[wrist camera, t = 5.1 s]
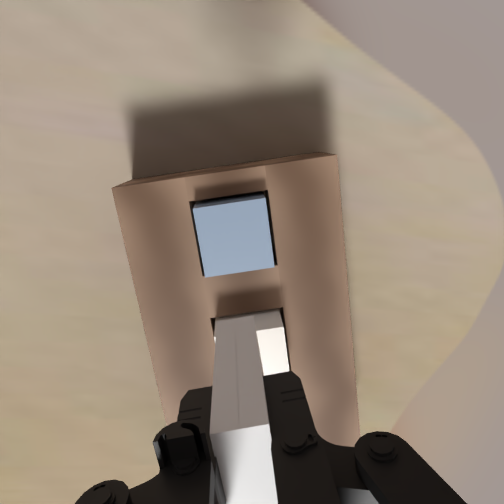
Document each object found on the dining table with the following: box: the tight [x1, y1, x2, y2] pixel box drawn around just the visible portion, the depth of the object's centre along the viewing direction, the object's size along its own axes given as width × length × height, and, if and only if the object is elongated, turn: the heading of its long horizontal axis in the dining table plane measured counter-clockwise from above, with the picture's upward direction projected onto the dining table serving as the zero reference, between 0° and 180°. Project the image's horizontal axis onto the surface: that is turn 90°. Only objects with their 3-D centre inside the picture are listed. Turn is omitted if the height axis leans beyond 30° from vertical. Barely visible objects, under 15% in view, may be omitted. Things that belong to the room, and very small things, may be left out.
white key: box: [214, 308, 289, 376], centre depth 28 cm, size 4×4×3 cm
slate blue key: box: [193, 192, 275, 278], centre depth 27 cm, size 4×4×3 cm
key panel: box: [112, 152, 360, 447], centre depth 31 cm, size 14×24×6 cm, turn 8°
